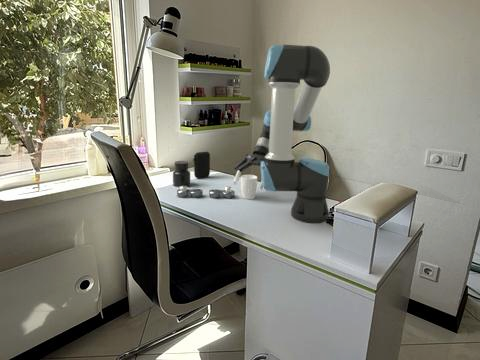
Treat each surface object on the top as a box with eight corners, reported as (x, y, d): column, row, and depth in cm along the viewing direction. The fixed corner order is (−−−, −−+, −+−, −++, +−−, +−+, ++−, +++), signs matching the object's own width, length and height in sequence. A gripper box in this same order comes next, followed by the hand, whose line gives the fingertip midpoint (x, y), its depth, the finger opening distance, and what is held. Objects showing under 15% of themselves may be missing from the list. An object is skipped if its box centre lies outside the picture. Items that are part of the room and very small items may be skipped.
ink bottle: (186, 181, 174) (185, 159, 170) (194, 185, 167) (193, 162, 164) (169, 183, 168) (168, 161, 165) (176, 188, 161) (176, 165, 158)
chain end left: (202, 198, 148) (202, 188, 146) (176, 197, 147) (175, 188, 146) (203, 194, 153) (203, 185, 152) (178, 193, 153) (177, 184, 152)
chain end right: (234, 198, 148) (234, 189, 147) (208, 198, 148) (208, 189, 147) (234, 194, 154) (234, 185, 153) (209, 194, 154) (209, 185, 152)
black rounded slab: (194, 179, 177) (194, 153, 173) (191, 178, 179) (191, 152, 175) (210, 177, 183) (211, 151, 179) (208, 175, 186) (208, 150, 181)
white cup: (238, 199, 148) (239, 178, 145) (241, 193, 156) (242, 174, 153) (255, 200, 147) (256, 179, 144) (257, 195, 154) (258, 175, 152)
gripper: (287, 156, 155) (274, 194, 146) (242, 150, 166) (227, 185, 158) (284, 147, 149) (270, 185, 140) (237, 141, 160) (221, 177, 152)
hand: (247, 185), depth 149 cm, fingers open, 13 cm apart
